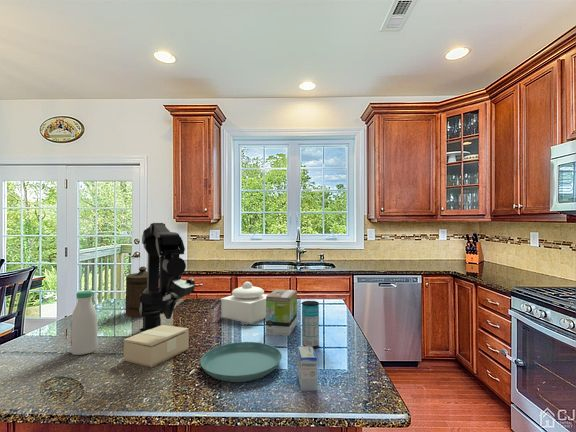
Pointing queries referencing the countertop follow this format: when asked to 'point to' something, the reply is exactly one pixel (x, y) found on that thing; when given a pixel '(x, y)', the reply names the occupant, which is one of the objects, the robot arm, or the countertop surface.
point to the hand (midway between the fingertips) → (168, 318)
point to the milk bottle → (84, 325)
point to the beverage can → (310, 324)
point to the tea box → (281, 312)
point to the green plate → (241, 361)
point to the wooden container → (135, 291)
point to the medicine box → (307, 369)
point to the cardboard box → (156, 350)
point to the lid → (156, 335)
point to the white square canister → (245, 304)
